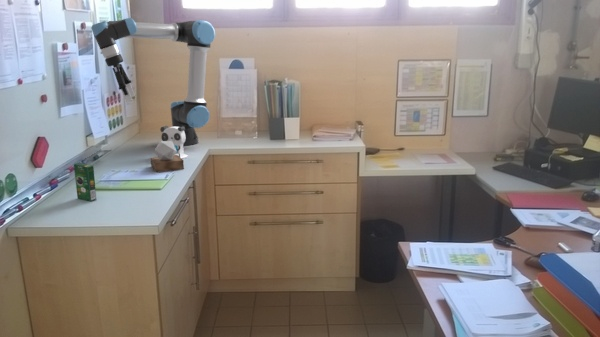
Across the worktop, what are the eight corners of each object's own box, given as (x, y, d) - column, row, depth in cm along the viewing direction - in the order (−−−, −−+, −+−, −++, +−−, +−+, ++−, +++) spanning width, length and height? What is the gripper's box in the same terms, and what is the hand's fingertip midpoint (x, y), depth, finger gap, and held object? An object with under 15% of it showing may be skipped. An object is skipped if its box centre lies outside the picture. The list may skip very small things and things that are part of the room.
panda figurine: (158, 158, 260) (155, 127, 256) (171, 153, 270) (169, 124, 266) (179, 160, 256) (177, 129, 252) (192, 155, 266) (190, 125, 262)
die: (165, 164, 234) (177, 144, 235) (148, 153, 235) (160, 134, 236) (170, 166, 242) (182, 147, 243) (154, 156, 243) (166, 137, 244)
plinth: (177, 163, 250) (177, 154, 249) (183, 168, 239) (183, 160, 238) (151, 166, 245) (150, 157, 244) (156, 172, 234) (155, 163, 233)
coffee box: (97, 199, 196) (93, 164, 193) (91, 202, 194) (86, 166, 191) (84, 196, 201) (79, 162, 197) (77, 198, 198) (72, 163, 195)
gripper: (108, 56, 261) (126, 97, 267) (100, 61, 237) (120, 106, 244) (123, 51, 261) (141, 92, 268) (116, 55, 238) (136, 100, 245)
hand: (131, 99), depth 256 cm, fingers open, 13 cm apart
